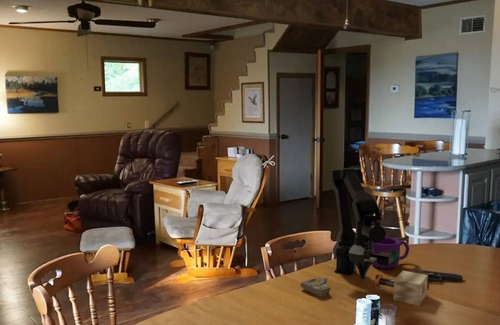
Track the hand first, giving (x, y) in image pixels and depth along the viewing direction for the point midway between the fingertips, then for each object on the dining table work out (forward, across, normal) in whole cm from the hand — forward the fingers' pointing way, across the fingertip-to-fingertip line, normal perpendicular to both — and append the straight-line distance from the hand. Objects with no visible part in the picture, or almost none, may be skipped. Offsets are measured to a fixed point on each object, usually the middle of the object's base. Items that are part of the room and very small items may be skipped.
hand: (363, 279), depth 166 cm
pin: (+2, +11, 0) cm, 11 cm away
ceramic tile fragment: (+4, -12, -12) cm, 17 cm away
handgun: (+4, +21, +19) cm, 28 cm away
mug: (+3, +1, +29) cm, 29 cm away
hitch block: (+3, +16, 0) cm, 16 cm away
